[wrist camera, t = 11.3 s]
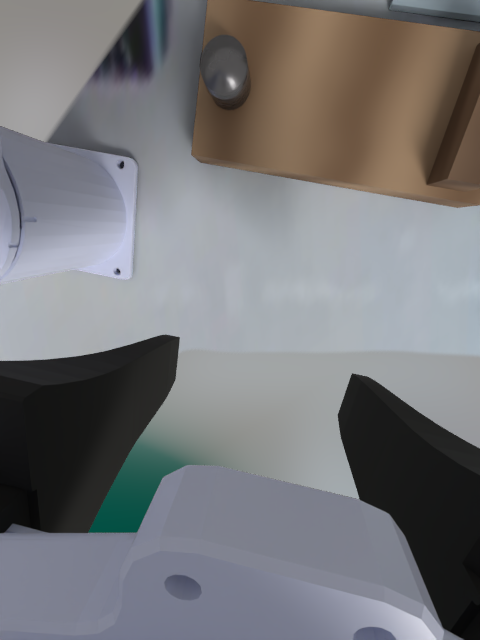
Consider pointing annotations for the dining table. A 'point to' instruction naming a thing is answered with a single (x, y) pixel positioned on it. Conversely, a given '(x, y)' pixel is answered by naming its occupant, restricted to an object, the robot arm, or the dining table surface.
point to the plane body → (341, 100)
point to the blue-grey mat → (440, 8)
